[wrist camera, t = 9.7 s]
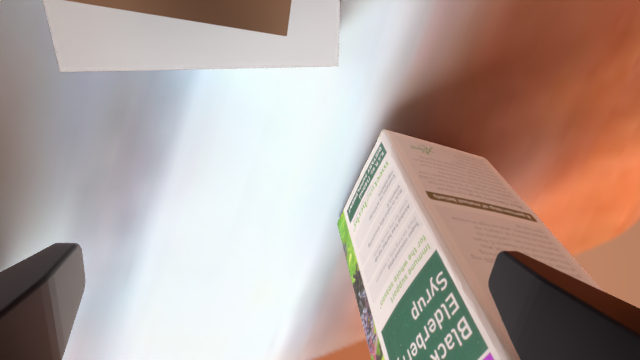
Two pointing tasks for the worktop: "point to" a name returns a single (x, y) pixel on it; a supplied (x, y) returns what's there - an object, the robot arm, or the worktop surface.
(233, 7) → the walnut cube
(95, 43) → the base block
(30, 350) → the robot arm
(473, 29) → the worktop surface
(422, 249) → the syrup box
